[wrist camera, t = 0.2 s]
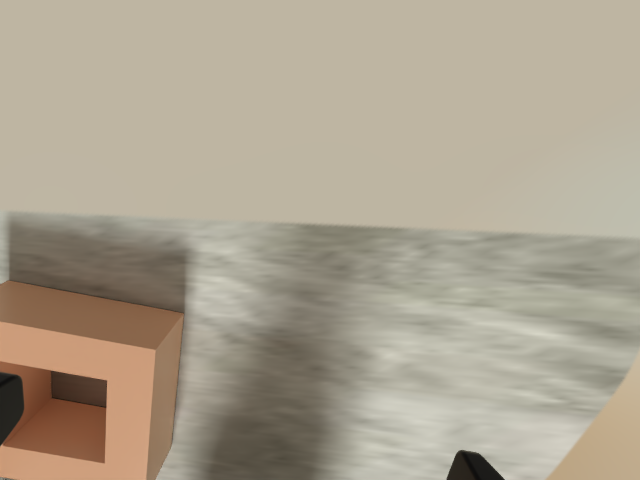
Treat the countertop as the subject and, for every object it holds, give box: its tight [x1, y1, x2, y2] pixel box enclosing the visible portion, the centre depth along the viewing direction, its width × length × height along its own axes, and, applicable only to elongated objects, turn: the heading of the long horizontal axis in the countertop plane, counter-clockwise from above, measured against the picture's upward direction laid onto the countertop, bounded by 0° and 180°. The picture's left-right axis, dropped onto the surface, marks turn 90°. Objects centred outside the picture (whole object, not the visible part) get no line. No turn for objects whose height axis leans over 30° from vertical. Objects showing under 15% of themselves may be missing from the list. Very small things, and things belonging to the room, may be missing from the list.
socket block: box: [0, 280, 184, 480], centre depth 23 cm, size 11×11×4 cm
